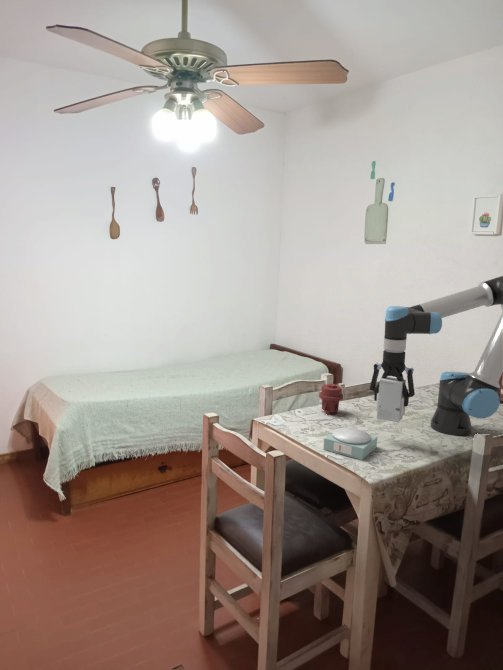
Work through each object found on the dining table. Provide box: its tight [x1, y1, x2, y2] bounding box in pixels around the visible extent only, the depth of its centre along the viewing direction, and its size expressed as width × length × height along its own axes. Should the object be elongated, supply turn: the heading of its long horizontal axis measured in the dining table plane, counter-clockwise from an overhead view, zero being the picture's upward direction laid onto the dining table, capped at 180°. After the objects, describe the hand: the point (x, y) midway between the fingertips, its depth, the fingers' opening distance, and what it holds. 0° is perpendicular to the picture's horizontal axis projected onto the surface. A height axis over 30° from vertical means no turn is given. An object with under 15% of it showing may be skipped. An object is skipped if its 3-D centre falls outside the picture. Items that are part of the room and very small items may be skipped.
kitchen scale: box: [323, 427, 379, 461], centre depth 170 cm, size 14×15×5 cm
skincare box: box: [376, 376, 407, 423], centre depth 176 cm, size 8×6×15 cm
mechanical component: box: [318, 383, 344, 416], centre depth 208 cm, size 12×10×10 cm
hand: (390, 412), depth 177 cm, fingers closed on skincare box, 8 cm apart
